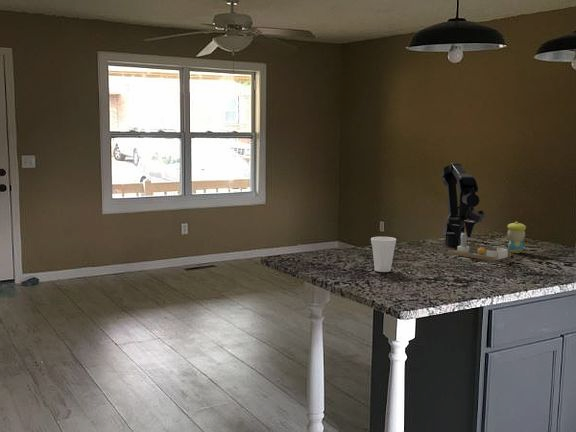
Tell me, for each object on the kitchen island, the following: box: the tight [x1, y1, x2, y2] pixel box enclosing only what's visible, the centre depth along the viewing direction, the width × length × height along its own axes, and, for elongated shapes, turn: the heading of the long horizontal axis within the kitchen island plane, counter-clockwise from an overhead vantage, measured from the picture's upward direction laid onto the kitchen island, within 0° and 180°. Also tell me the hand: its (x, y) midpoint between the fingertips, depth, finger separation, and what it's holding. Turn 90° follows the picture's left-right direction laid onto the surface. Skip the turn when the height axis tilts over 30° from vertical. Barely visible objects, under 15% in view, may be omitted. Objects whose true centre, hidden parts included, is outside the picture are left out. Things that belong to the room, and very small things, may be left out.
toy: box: [506, 221, 527, 254], centre depth 285 cm, size 8×9×15 cm
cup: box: [370, 236, 397, 273], centre depth 247 cm, size 10×10×13 cm
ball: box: [477, 246, 486, 255], centre depth 278 cm, size 4×4×4 cm
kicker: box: [456, 232, 470, 252], centre depth 284 cm, size 4×4×8 cm
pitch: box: [447, 246, 512, 262], centre depth 279 cm, size 22×16×2 cm
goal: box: [486, 247, 509, 261], centre depth 273 cm, size 5×10×4 cm, turn 134°
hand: (463, 238), depth 284 cm, fingers open, 9 cm apart
